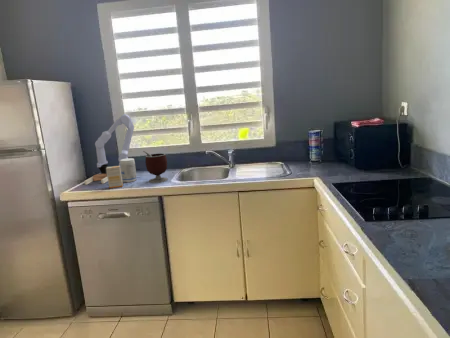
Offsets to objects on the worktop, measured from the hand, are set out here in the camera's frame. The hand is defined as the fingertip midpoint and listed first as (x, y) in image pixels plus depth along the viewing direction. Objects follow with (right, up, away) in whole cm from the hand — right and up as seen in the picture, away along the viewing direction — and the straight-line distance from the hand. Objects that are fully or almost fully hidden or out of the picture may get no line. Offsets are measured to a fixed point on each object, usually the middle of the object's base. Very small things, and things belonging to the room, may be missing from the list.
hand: (104, 175), depth 255 cm
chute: (0, -4, -9) cm, 10 cm away
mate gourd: (+42, -3, -20) cm, 47 cm away
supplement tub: (+22, -4, -15) cm, 27 cm away
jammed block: (0, -3, -5) cm, 6 cm away
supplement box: (+17, -7, -29) cm, 35 cm away
